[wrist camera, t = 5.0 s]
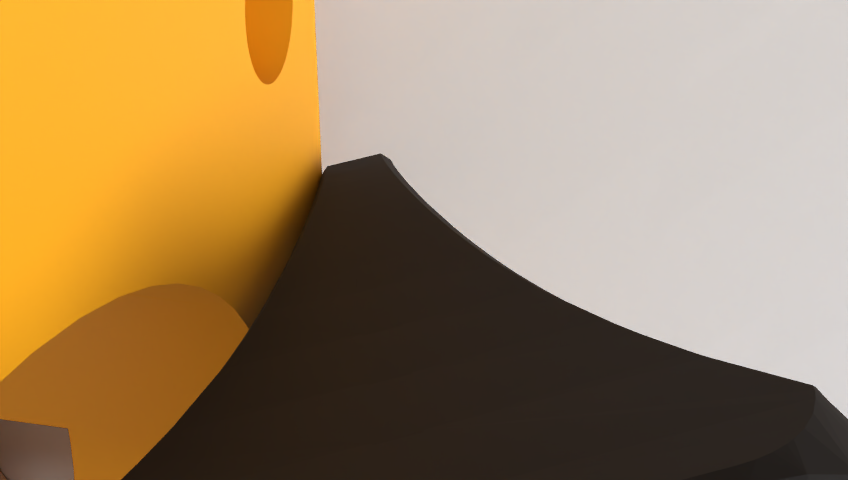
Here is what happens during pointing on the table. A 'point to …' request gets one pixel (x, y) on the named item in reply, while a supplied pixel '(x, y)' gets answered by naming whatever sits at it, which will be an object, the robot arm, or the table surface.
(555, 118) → the table surface
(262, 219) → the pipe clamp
